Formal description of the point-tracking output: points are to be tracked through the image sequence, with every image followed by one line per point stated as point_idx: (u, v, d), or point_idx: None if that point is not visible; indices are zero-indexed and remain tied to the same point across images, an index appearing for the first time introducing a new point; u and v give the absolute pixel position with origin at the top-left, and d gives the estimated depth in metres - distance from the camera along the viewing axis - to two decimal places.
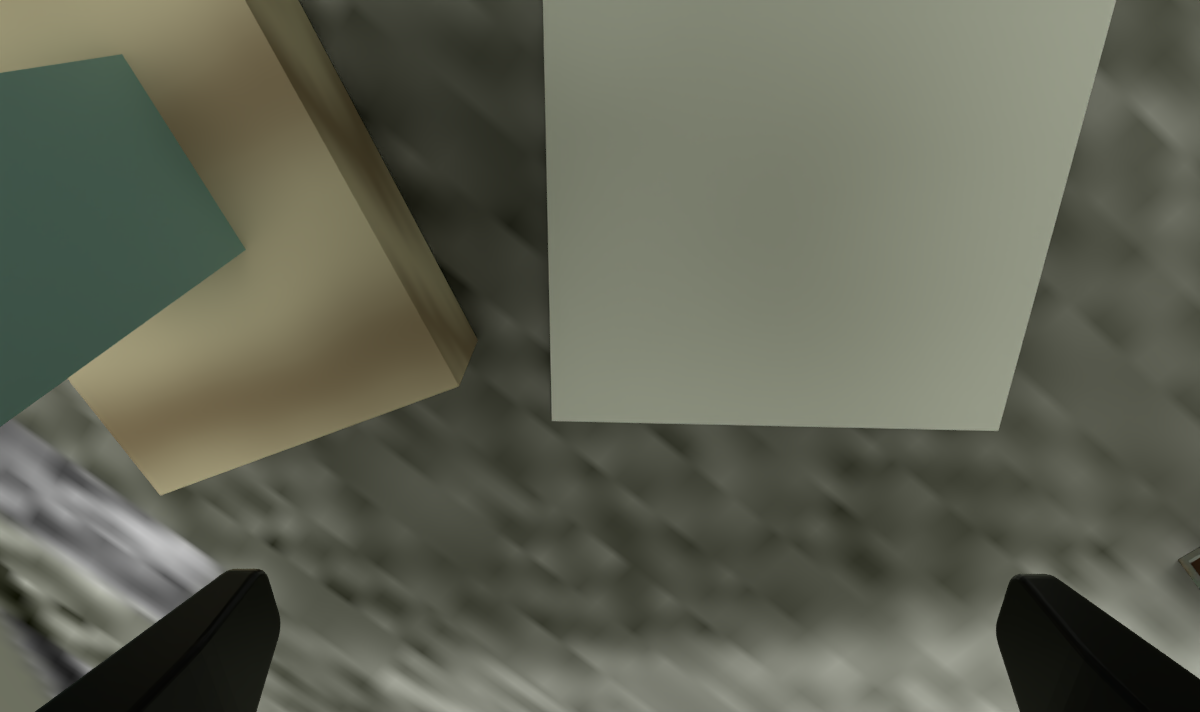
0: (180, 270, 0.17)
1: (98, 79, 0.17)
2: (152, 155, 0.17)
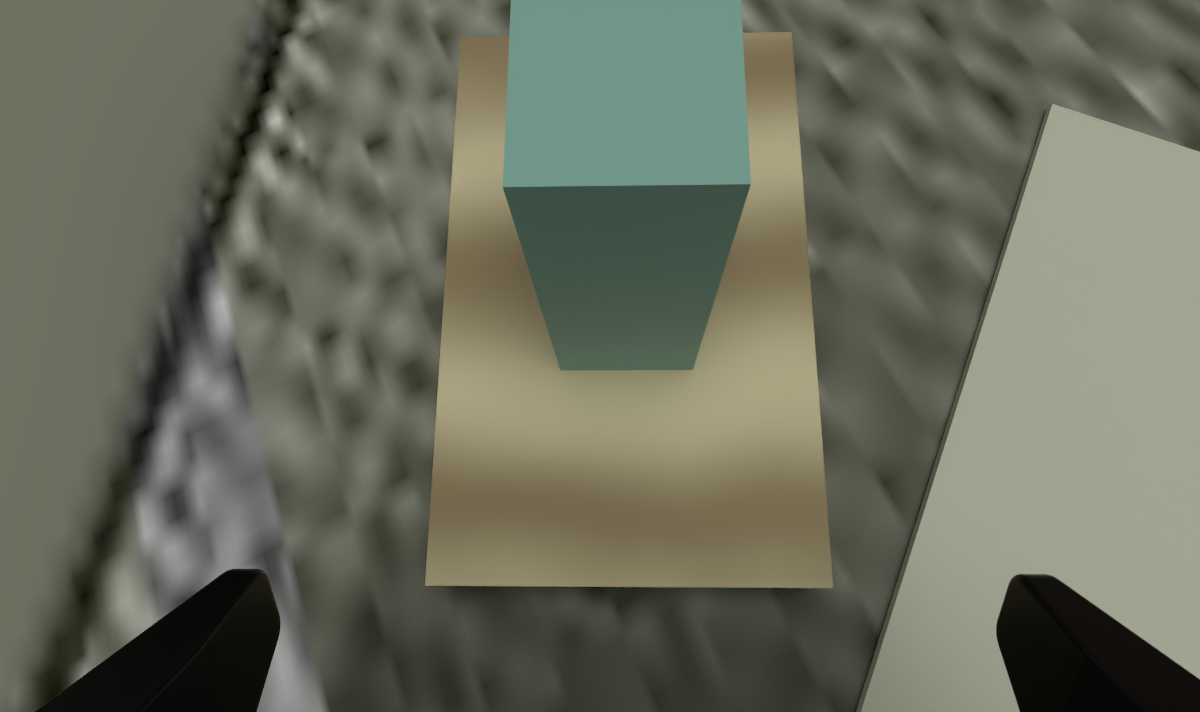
0: None
1: None
2: None
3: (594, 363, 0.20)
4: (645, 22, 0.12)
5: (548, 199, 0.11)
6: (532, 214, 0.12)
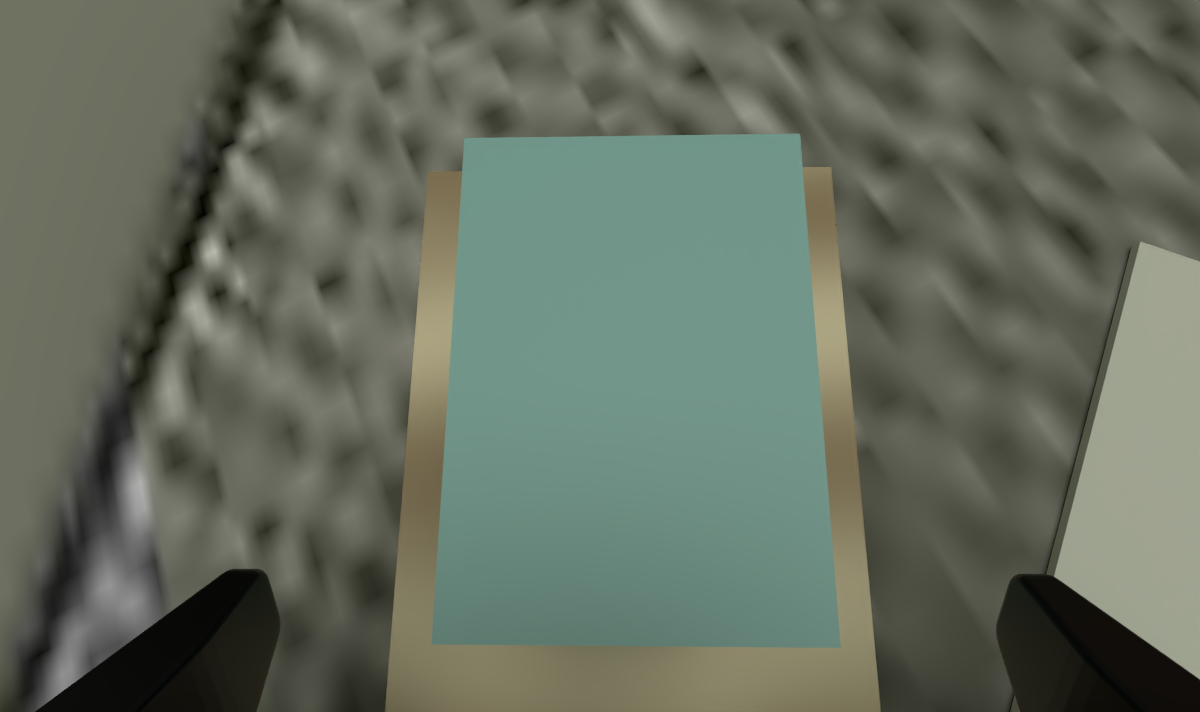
0: None
1: None
2: None
3: None
4: (662, 342, 0.07)
5: (508, 642, 0.07)
6: None
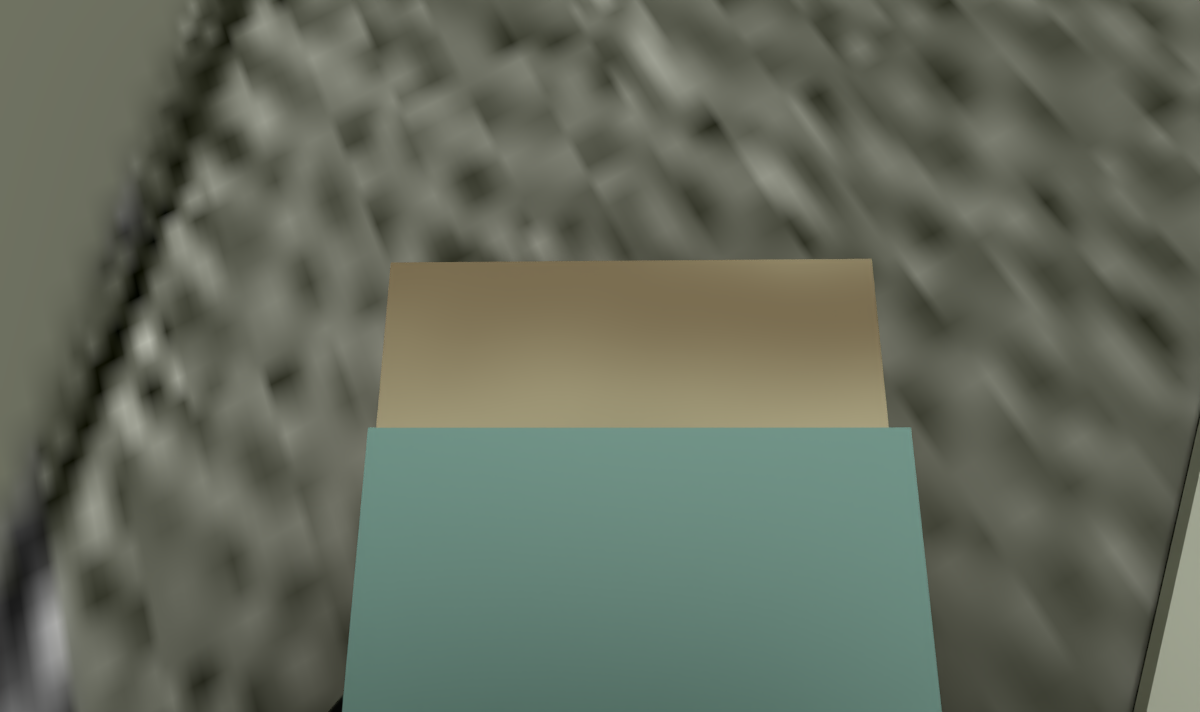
0: None
1: None
2: None
3: None
4: None
5: None
6: None
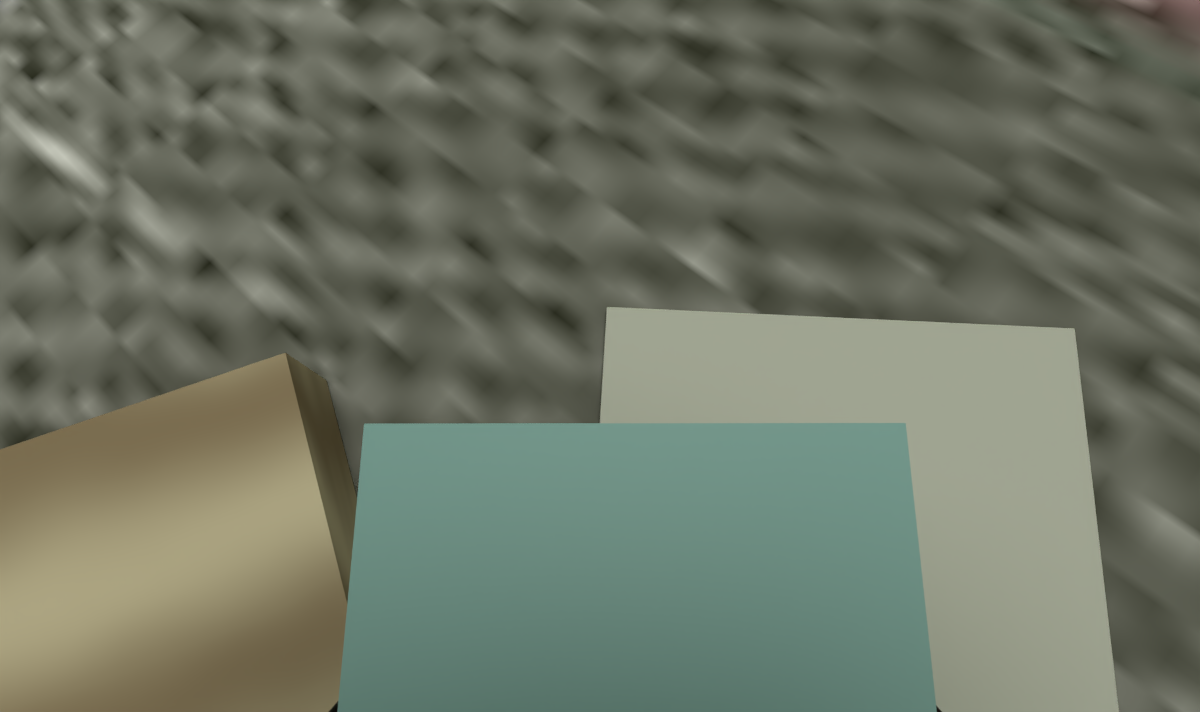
0: None
1: None
2: None
3: None
4: None
5: None
6: None
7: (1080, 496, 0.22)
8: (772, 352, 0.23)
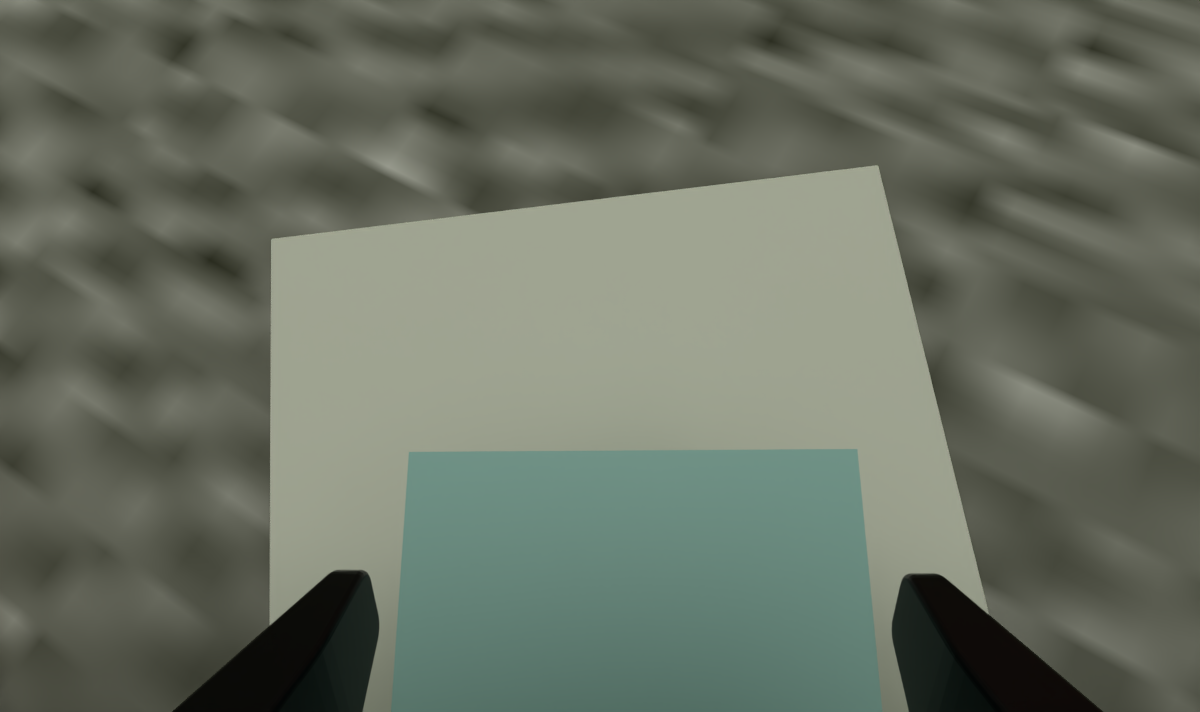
0: None
1: None
2: None
3: None
4: None
5: None
6: None
7: (912, 375, 0.16)
8: (494, 261, 0.17)
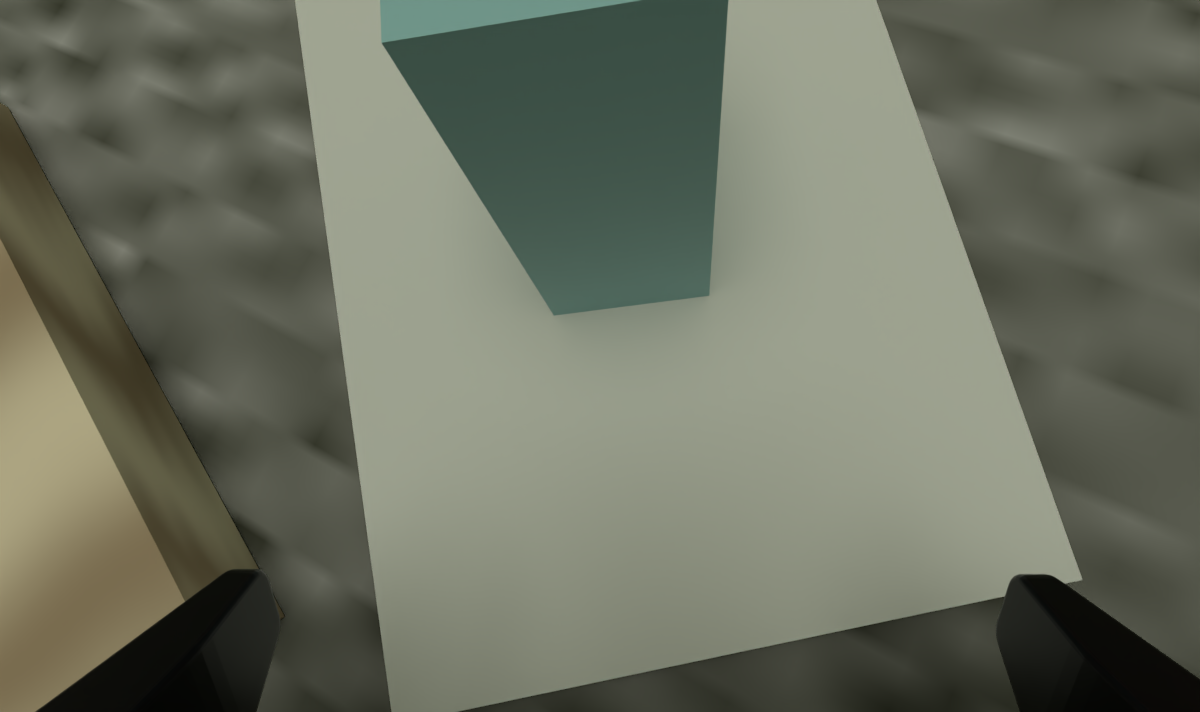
0: None
1: None
2: None
3: (589, 301, 0.17)
4: None
5: (451, 56, 0.08)
6: (439, 86, 0.09)
7: None
8: None
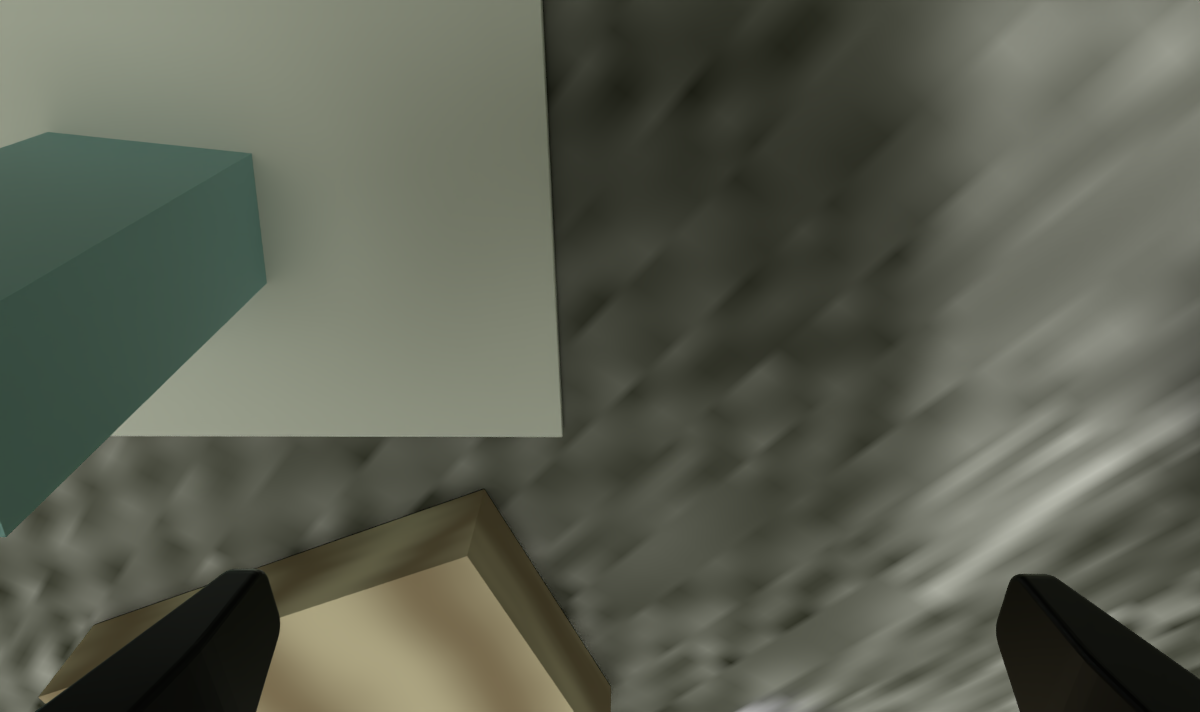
0: (177, 181, 0.17)
1: (29, 146, 0.18)
2: (109, 153, 0.18)
3: (252, 260, 0.20)
4: None
5: (13, 490, 0.12)
6: (37, 485, 0.13)
7: None
8: None
